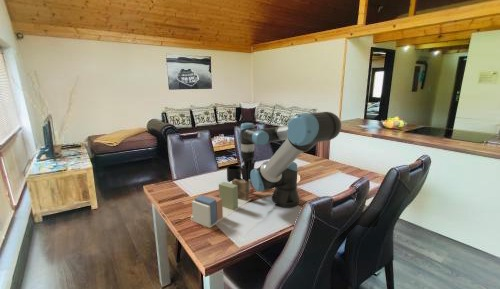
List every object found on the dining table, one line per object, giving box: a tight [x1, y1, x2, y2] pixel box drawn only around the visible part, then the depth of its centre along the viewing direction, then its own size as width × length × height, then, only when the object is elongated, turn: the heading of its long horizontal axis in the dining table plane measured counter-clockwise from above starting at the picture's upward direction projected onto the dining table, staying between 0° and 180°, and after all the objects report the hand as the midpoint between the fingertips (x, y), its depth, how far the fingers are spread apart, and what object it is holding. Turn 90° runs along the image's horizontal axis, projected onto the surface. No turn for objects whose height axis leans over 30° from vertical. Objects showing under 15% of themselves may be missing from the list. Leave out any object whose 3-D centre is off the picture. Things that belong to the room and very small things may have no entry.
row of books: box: [190, 198, 252, 229], centre depth 129 cm, size 12×34×11 cm, turn 147°
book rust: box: [205, 194, 223, 220], centre depth 122 cm, size 8×4×10 cm, turn 57°
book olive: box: [218, 181, 238, 210], centre depth 131 cm, size 9×4×12 cm, turn 57°
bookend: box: [231, 179, 250, 201], centre depth 141 cm, size 9×3×10 cm, turn 57°
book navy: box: [194, 194, 217, 225], centre depth 118 cm, size 9×4×11 cm, turn 57°
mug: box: [226, 164, 242, 183], centre depth 170 cm, size 9×12×9 cm
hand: (248, 189), depth 148 cm, fingers closed
